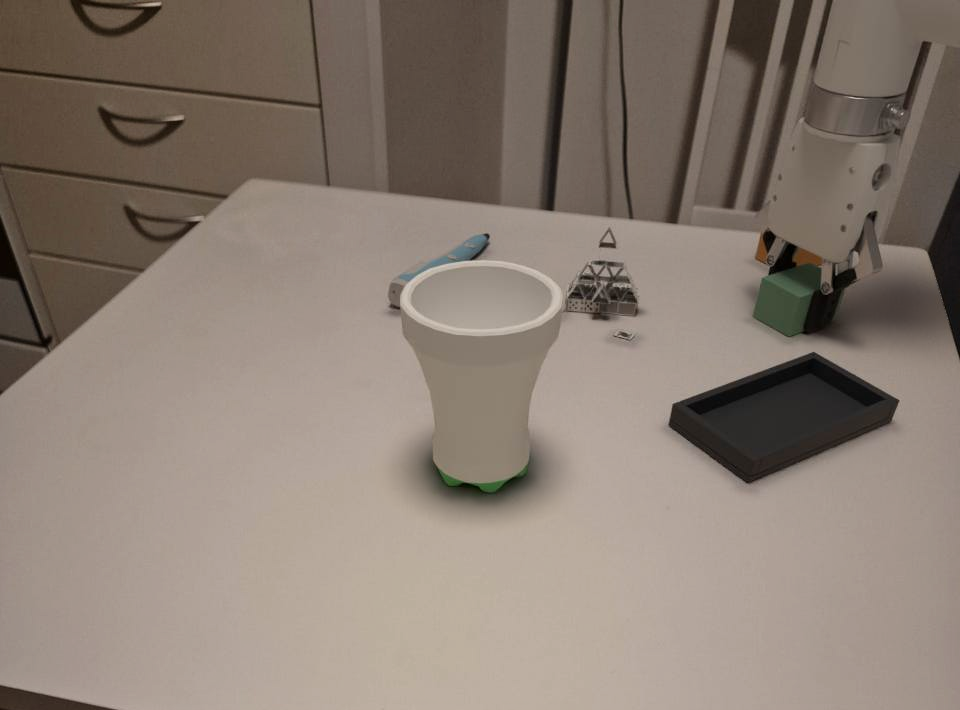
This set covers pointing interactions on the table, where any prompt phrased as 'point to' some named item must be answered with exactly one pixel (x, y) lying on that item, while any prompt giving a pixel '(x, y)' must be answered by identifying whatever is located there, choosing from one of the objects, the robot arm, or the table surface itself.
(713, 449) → the tray
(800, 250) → the block orange
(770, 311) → the green block
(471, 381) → the cup
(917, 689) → the table surface
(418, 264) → the blue elongated piece
